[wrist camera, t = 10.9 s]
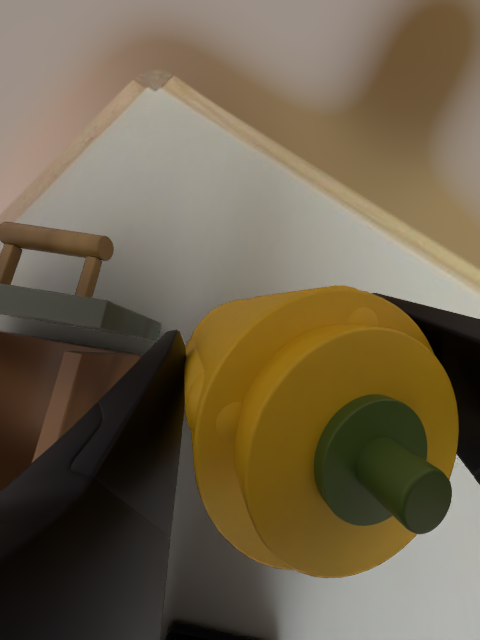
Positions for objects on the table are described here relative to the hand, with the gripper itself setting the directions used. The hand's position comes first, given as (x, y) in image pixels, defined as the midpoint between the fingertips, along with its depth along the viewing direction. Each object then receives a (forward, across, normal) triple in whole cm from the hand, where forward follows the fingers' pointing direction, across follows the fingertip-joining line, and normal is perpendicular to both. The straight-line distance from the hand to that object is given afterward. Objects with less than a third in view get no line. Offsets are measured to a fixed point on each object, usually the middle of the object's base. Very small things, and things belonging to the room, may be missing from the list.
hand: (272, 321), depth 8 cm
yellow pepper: (+3, +1, +4) cm, 5 cm away
